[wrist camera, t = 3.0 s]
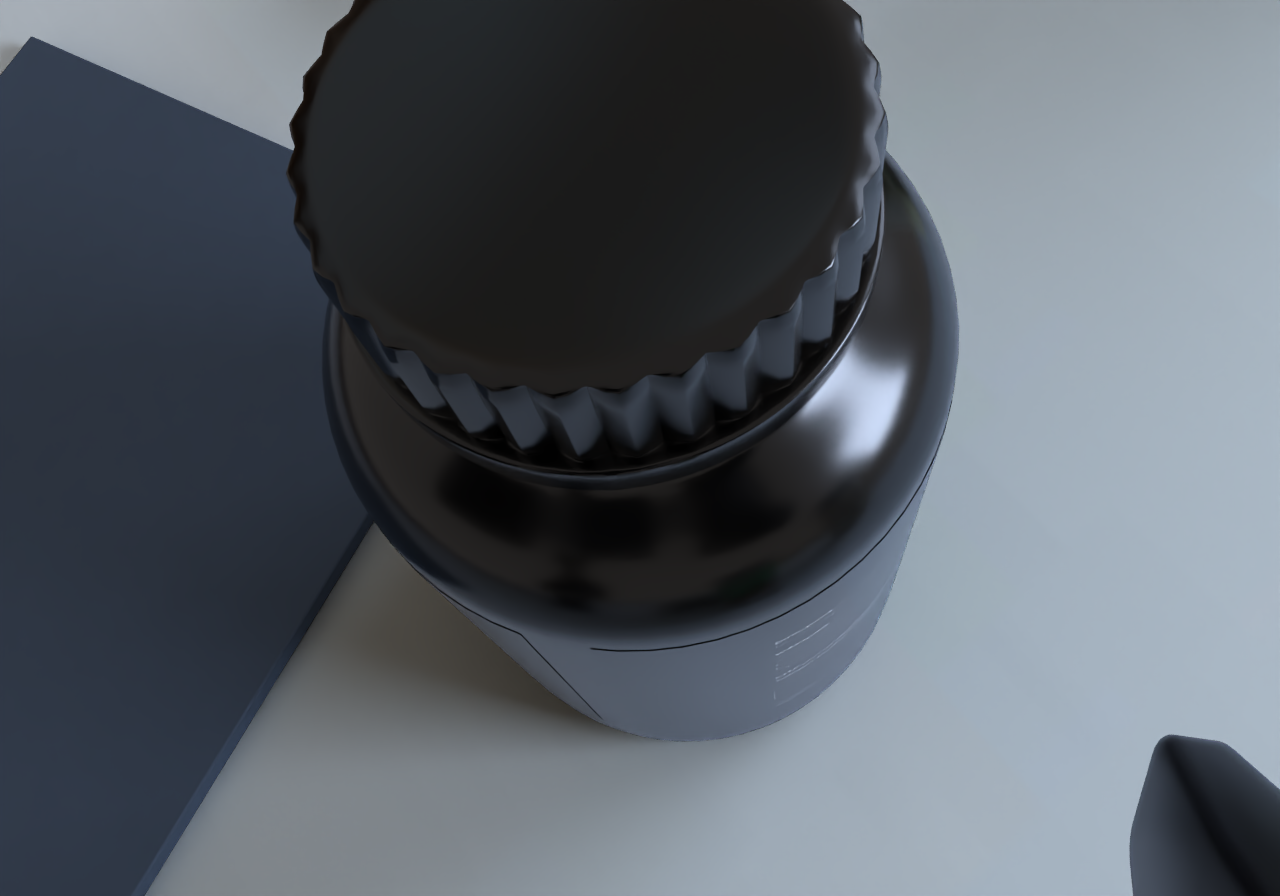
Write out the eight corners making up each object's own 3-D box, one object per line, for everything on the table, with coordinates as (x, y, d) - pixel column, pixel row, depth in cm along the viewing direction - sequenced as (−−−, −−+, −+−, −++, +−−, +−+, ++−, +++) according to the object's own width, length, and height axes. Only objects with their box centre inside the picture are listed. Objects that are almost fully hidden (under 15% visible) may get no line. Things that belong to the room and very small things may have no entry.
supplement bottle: (811, 309, 22) (863, -311, 11) (954, 674, 19) (1215, 367, 8) (444, 423, 22) (108, -83, 11) (541, 803, 19) (238, 672, 8)
